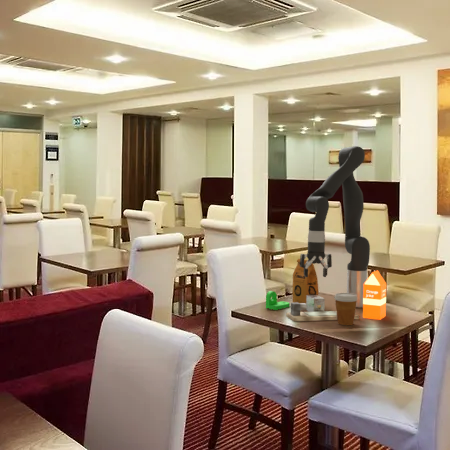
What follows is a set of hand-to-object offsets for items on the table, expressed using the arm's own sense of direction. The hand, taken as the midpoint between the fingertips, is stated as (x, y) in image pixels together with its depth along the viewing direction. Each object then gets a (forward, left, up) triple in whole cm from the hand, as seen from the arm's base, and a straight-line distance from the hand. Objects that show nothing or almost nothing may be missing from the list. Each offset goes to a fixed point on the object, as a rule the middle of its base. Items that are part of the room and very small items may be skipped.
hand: (315, 276), depth 262 cm
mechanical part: (+13, -13, -16) cm, 24 cm away
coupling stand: (+1, +12, -16) cm, 20 cm away
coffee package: (-1, -16, -16) cm, 23 cm away
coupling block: (0, 0, -16) cm, 16 cm away
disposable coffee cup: (-5, +25, -16) cm, 30 cm away
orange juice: (-22, +14, -16) cm, 31 cm away
